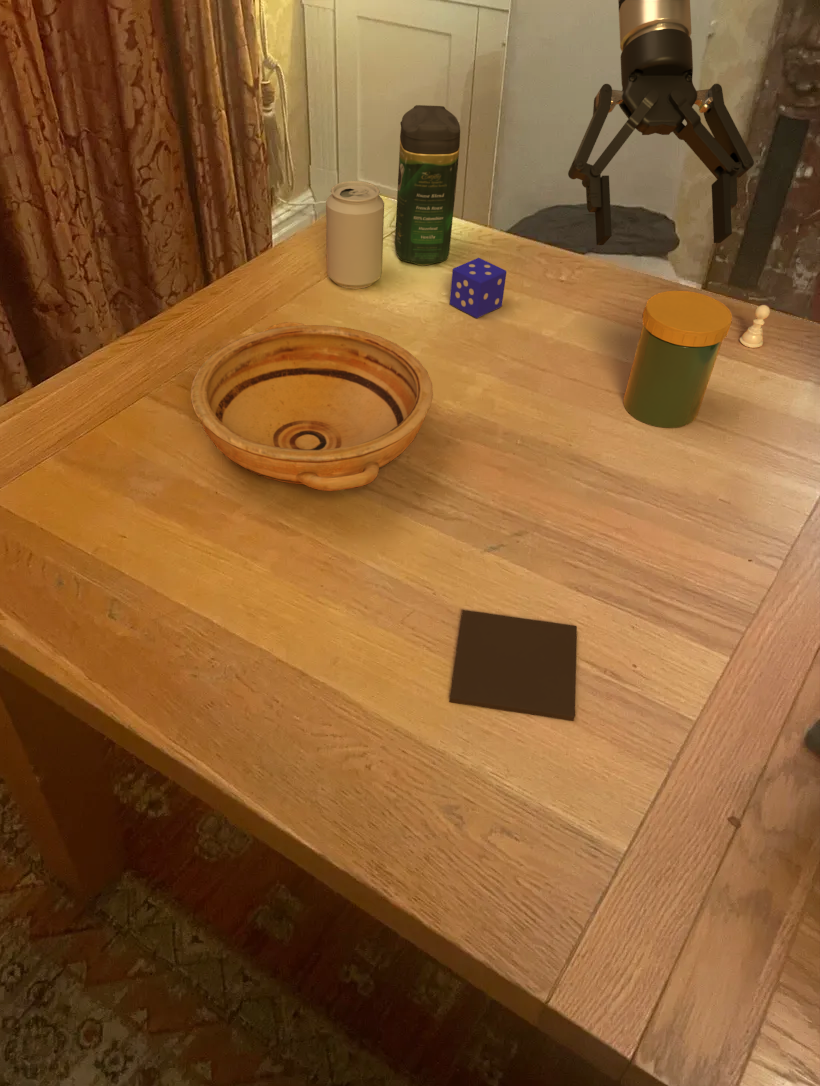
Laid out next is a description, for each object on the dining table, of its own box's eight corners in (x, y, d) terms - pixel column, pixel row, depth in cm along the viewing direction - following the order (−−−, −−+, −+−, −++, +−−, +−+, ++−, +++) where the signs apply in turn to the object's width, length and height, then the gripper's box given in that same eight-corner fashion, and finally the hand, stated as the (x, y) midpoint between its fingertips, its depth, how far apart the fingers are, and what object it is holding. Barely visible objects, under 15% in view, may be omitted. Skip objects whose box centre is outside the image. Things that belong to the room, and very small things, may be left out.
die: (474, 292, 122) (478, 256, 118) (502, 306, 119) (507, 270, 116) (448, 304, 119) (452, 268, 116) (476, 319, 117) (480, 282, 113)
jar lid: (723, 309, 99) (728, 295, 98) (731, 351, 93) (736, 336, 92) (640, 301, 100) (644, 286, 99) (643, 342, 94) (647, 327, 93)
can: (336, 262, 127) (336, 174, 118) (388, 270, 126) (391, 181, 117) (319, 286, 122) (317, 195, 113) (372, 295, 121) (375, 204, 112)
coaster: (575, 630, 79) (577, 625, 79) (573, 721, 72) (575, 716, 72) (461, 614, 80) (462, 609, 80) (449, 702, 73) (449, 697, 73)
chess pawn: (734, 339, 115) (747, 302, 111) (751, 335, 116) (764, 298, 112) (749, 350, 113) (763, 313, 109) (767, 345, 114) (781, 309, 110)
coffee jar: (452, 268, 127) (465, 125, 113) (396, 267, 126) (402, 124, 113) (446, 237, 133) (458, 99, 120) (393, 237, 133) (398, 98, 120)
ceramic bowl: (183, 388, 104) (173, 324, 98) (386, 363, 109) (388, 301, 103) (221, 560, 84) (212, 493, 79) (467, 520, 89) (476, 454, 83)
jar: (694, 391, 106) (724, 299, 98) (700, 432, 100) (732, 338, 92) (622, 382, 107) (645, 291, 99) (623, 423, 101) (648, 329, 93)
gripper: (747, 64, 105) (754, 249, 105) (535, 64, 102) (544, 253, 103) (782, 24, 97) (789, 224, 98) (554, 24, 95) (563, 228, 95)
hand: (663, 240), depth 100 cm, fingers open, 13 cm apart
